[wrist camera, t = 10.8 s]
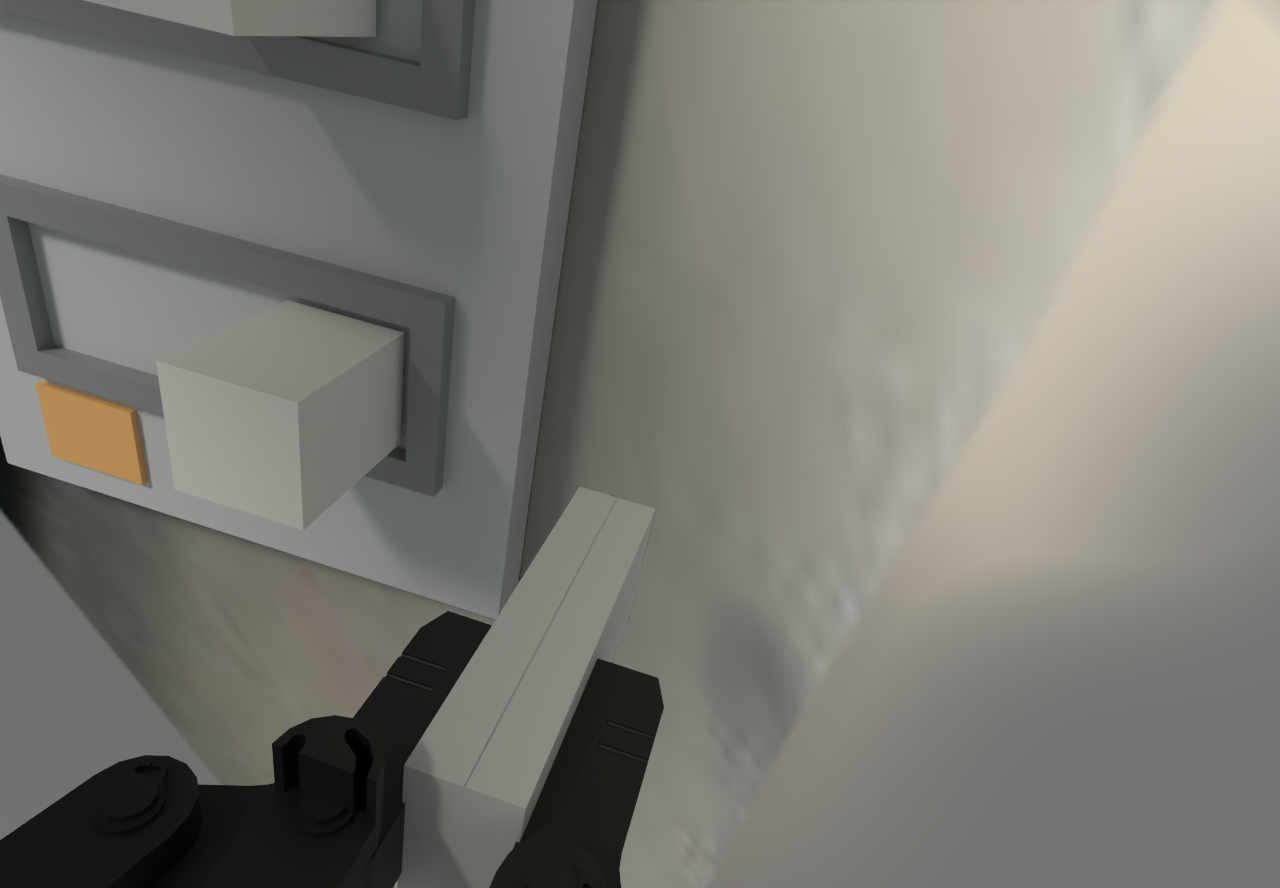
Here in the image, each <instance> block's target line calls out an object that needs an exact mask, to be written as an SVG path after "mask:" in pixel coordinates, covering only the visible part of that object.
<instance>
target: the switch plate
mask: <svg viewBox="0 0 1280 888" xmlns="http://www.w3.org/2000/svg"><path fill="white" fill-rule="evenodd" d="M597 2H598V0H376V37H322V36H232V35H228V34H223V33H219V32H215V31H211V30H206V29H202V28H198V27H194V26H190V25H185V24H181V23H177V22H173V21H168V20H164V19H160V18H156V17H151V16H147V15H143V14H139V13H135V12H130V11H126V10H122V9H118V8H113V7H109V6H105V5H101V4H96V3H92V2H88V1H84V0H0V436H1V440H2V443H3V447H4V451H5V454H6V458H7V462H8V463H10V464H13V465H16V466H19V467H22V468H25V469H28V470H31V471H34V472H38V473H41V474H44V475H47V476H50V477H53V478H56V479H59V480H62V481H66V482H69V483H72V484H75V485H78V486H81V487H84V488H87V489H90V490H94V491H97V492H100V493H103V494H106V495H109V496H112V497H115V498H119V499H122V500H125V501H128V502H131V503H134V504H137V505H140V506H143V507H147V508H150V509H153V510H156V511H159V512H162V513H165V514H168V515H171V516H175V517H178V518H181V519H184V520H187V521H190V522H193V523H196V524H199V525H203V526H206V527H209V528H212V529H215V530H218V531H221V532H224V533H227V534H231V535H234V536H237V537H240V538H243V539H246V540H249V541H252V542H255V543H259V544H262V545H265V546H268V547H271V548H274V549H277V550H280V551H283V552H287V553H290V554H293V555H296V556H299V557H302V558H305V559H308V560H311V561H315V562H318V563H321V564H324V565H327V566H330V567H333V568H336V569H339V570H343V571H346V572H349V573H352V574H355V575H358V576H361V577H364V578H367V579H371V580H374V581H377V582H380V583H383V584H386V585H389V586H392V587H395V588H399V589H402V590H405V591H408V592H411V593H414V594H417V595H420V596H423V597H427V598H430V599H433V600H436V601H439V602H442V603H445V604H448V605H452V606H455V607H458V608H461V609H464V610H467V611H470V612H473V613H476V614H480V615H483V616H486V617H489V618H492V619H495V620H496V618H497V617H498V615H499V614H500V612H501V610H502V609H503V607H504V606H505V604H506V603H507V601H508V599H509V598H510V596H511V595H512V593H513V591H514V590H515V588H516V587H517V585H518V581H519V573H520V566H521V559H522V551H523V544H524V537H525V529H526V522H527V515H528V507H529V500H530V493H531V485H532V478H533V471H534V463H535V456H536V449H537V441H538V434H539V427H540V419H541V412H542V405H543V397H544V390H545V383H546V375H547V368H548V361H549V353H550V346H551V339H552V331H553V324H554V317H555V310H556V302H557V295H558V288H559V280H560V273H561V266H562V258H563V251H564V244H565V236H566V229H567V222H568V214H569V207H570V200H571V192H572V185H573V178H574V170H575V163H576V156H577V148H578V141H579V134H580V126H581V119H582V112H583V104H584V97H585V90H586V82H587V75H588V68H589V60H590V53H591V46H592V38H593V31H594V24H595V17H596V9H597ZM287 300H289V301H293V302H297V303H300V304H304V305H307V306H311V307H314V308H318V309H322V310H325V311H329V312H332V313H336V314H340V315H343V316H347V317H350V318H354V319H358V320H361V321H365V322H368V323H372V324H375V325H379V326H383V327H386V328H390V329H393V330H397V331H401V332H404V363H403V393H402V423H401V443H400V444H399V445H398V446H397V447H396V448H395V449H393V450H392V451H391V452H390V453H389V454H388V455H387V456H386V457H385V458H383V459H382V460H381V461H380V462H379V463H378V464H377V465H376V466H375V467H373V468H372V469H371V470H370V471H369V472H368V473H367V474H366V475H364V476H363V477H362V478H361V479H360V480H359V481H358V482H357V483H356V484H354V485H353V486H352V487H351V488H350V489H349V490H348V491H347V492H346V493H344V494H343V495H342V496H341V497H340V498H339V499H338V500H337V501H336V502H334V503H333V504H332V505H331V506H330V507H329V508H328V509H327V510H325V511H324V512H323V513H322V514H321V515H320V516H319V517H318V518H317V519H315V520H314V521H313V522H312V523H311V524H310V525H309V526H308V527H307V528H305V529H304V530H300V529H297V528H294V527H291V526H288V525H285V524H281V523H278V522H275V521H272V520H269V519H266V518H262V517H259V516H256V515H253V514H250V513H247V512H243V511H240V510H237V509H234V508H231V507H228V506H225V505H221V504H218V503H215V502H212V501H209V500H206V499H202V498H199V497H196V496H193V495H190V494H187V493H183V492H180V491H177V490H174V483H173V476H172V469H171V462H170V455H169V448H168V442H167V435H166V428H165V421H164V414H163V407H162V400H161V393H160V386H159V379H158V372H157V365H156V361H157V360H159V359H161V358H163V357H165V356H168V355H170V354H172V353H174V352H176V351H178V350H181V349H183V348H185V347H187V346H189V345H191V344H194V343H196V342H198V341H200V340H202V339H204V338H207V337H209V336H211V335H213V334H215V333H217V332H219V331H222V330H224V329H226V328H228V327H230V326H232V325H235V324H237V323H239V322H241V321H243V320H245V319H248V318H250V317H252V316H254V315H256V314H258V313H261V312H263V311H265V310H267V309H269V308H271V307H274V306H276V305H278V304H280V303H282V302H284V301H287Z"/></svg>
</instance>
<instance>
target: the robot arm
mask: <svg viewBox="0 0 1280 888" xmlns="http://www.w3.org/2000/svg"><path fill="white" fill-rule="evenodd" d="M654 513H655V509H654V508H650V507H647V506H644V505H640V504H637V503H634V502H630V501H627V500H624V499H620V498H617V497H614V496H610V495H607V494H604V493H600V492H597V491H594V490H590V489H587V488H584V487H579V488H578V490H577V491H576V493H575V494H574V496H573V498H572V499H571V501H570V502H569V504H568V506H567V507H566V509H565V510H564V512H563V514H562V515H561V517H560V518H559V520H558V522H557V523H556V525H555V526H554V528H553V529H552V531H551V533H550V534H549V536H548V537H547V539H546V541H545V542H544V544H543V545H542V547H541V549H540V550H539V552H538V553H537V555H536V556H535V558H534V560H533V561H532V563H531V564H530V566H529V568H528V569H527V571H526V572H525V574H524V576H523V577H522V579H521V580H520V582H519V583H518V585H517V587H516V588H515V590H514V591H513V593H512V595H511V596H510V598H509V599H508V601H507V603H506V604H505V606H504V607H503V609H502V610H501V612H500V614H499V615H498V617H497V618H496V620H495V622H494V623H493V625H489V624H486V623H483V622H480V621H477V620H474V619H470V618H467V617H464V616H461V615H458V614H455V613H452V612H449V611H447V612H446V613H444V614H442V615H441V616H439V617H438V618H436V619H434V620H433V621H431V622H429V623H428V624H426V625H425V626H423V627H421V628H420V629H419V631H418V632H417V633H416V635H415V636H414V637H413V639H412V640H411V641H410V643H409V644H408V645H407V647H406V648H405V649H404V651H403V652H402V655H401V657H398V659H397V660H396V661H395V663H394V664H393V665H392V667H391V668H390V669H389V671H388V672H387V675H386V677H383V679H382V680H381V681H380V683H379V684H378V685H377V687H376V688H375V689H374V691H373V692H372V693H371V695H370V696H369V697H368V699H367V700H366V701H365V703H364V704H363V705H362V707H361V708H360V709H359V711H358V712H357V713H356V715H355V716H354V717H353V718H348V717H342V716H336V715H334V716H327V717H320V718H313V719H310V720H308V721H305V722H303V723H301V724H299V725H296V726H294V727H292V728H290V729H289V730H287V731H286V732H285V733H284V734H283V735H282V736H280V737H279V738H278V739H277V740H276V741H275V742H274V743H272V750H273V764H274V778H275V783H273V784H269V785H257V786H229V785H198V782H197V777H196V776H195V774H194V773H193V772H192V770H191V769H190V768H189V767H188V765H187V764H186V763H184V762H181V761H179V760H176V759H174V758H172V757H169V756H150V755H147V756H146V755H145V756H141V757H137V758H133V759H129V760H125V761H121V762H118V763H117V764H115V765H113V766H111V767H109V768H107V769H105V770H103V771H101V772H99V773H98V774H96V775H94V776H93V777H91V778H90V779H88V780H87V781H86V782H84V783H83V784H81V785H80V786H78V787H77V788H75V789H74V790H72V791H71V792H69V793H68V794H67V795H65V796H64V797H62V798H61V799H59V800H58V801H56V802H55V803H54V804H52V805H51V806H49V807H48V808H46V809H45V810H44V811H42V812H41V813H39V814H38V815H36V816H35V817H33V818H32V819H30V820H29V821H27V822H26V823H25V824H23V825H22V826H20V827H19V828H17V829H16V830H14V831H13V832H12V833H10V834H9V835H7V836H6V837H4V838H3V839H2V840H0V888H393V887H394V885H395V883H396V881H397V880H398V887H397V888H621V883H620V872H619V867H620V860H621V854H622V850H623V847H624V843H625V840H626V836H627V833H628V829H629V826H630V822H631V819H632V815H633V812H634V809H635V805H636V802H637V798H638V795H639V791H640V788H641V784H642V781H643V777H644V774H645V770H646V767H647V764H648V760H649V757H650V753H651V750H652V746H653V743H654V739H655V736H656V732H657V729H658V726H659V722H660V719H661V715H662V712H663V708H664V706H663V700H662V695H661V690H660V685H659V680H658V678H656V677H653V676H650V675H647V674H644V673H641V672H638V671H635V670H632V669H629V668H626V667H623V666H620V665H617V664H614V663H612V660H613V658H614V655H615V653H616V650H617V648H618V645H619V643H620V640H621V638H622V635H623V633H624V630H625V628H626V625H627V623H628V620H629V617H630V613H631V609H632V605H633V601H634V596H635V592H636V588H637V584H638V580H639V576H640V571H641V567H642V563H643V559H644V555H645V550H646V546H647V542H648V538H649V534H650V530H651V525H652V521H653V517H654Z"/></svg>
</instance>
